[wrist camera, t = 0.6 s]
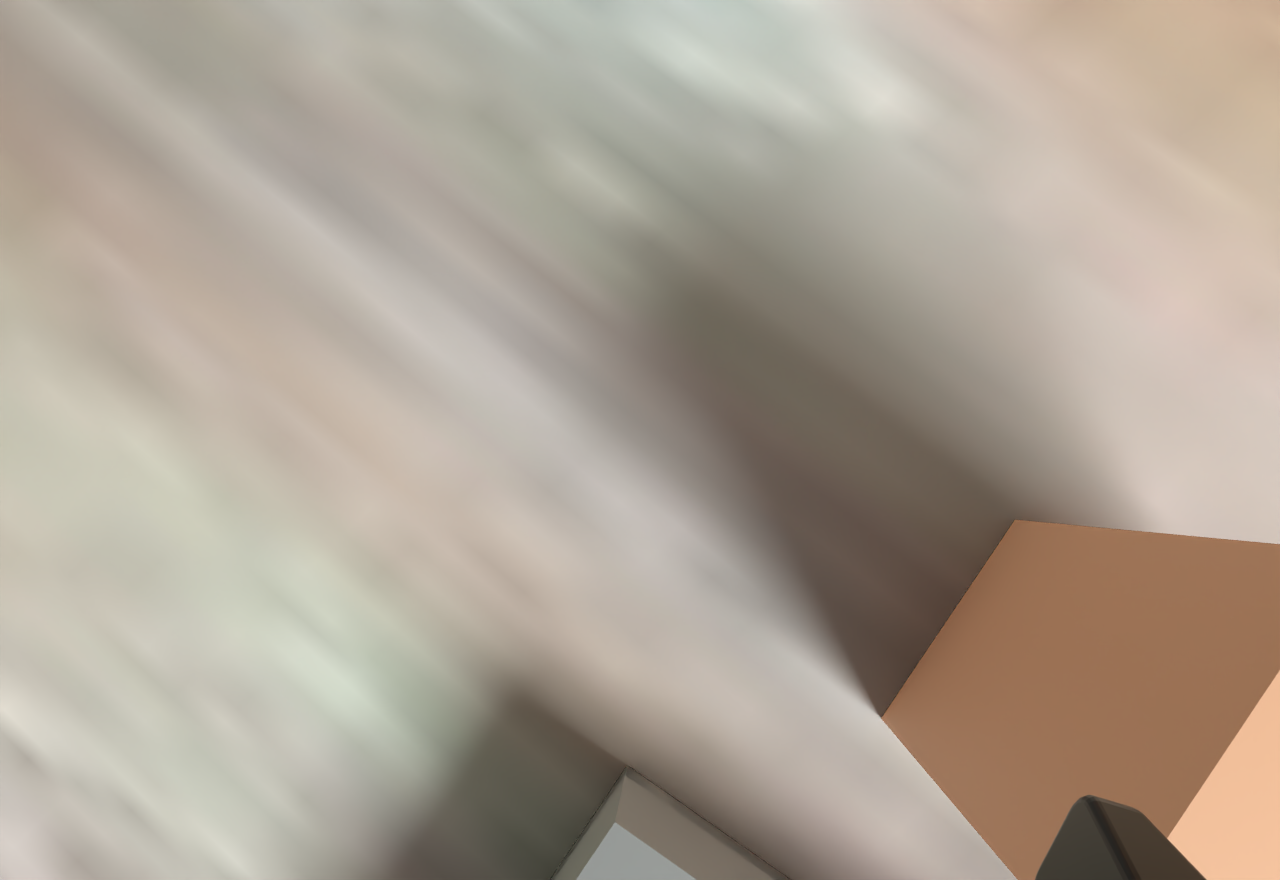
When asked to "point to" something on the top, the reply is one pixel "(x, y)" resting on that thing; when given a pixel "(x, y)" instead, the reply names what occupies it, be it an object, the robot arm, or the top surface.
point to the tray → (655, 841)
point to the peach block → (1109, 693)
